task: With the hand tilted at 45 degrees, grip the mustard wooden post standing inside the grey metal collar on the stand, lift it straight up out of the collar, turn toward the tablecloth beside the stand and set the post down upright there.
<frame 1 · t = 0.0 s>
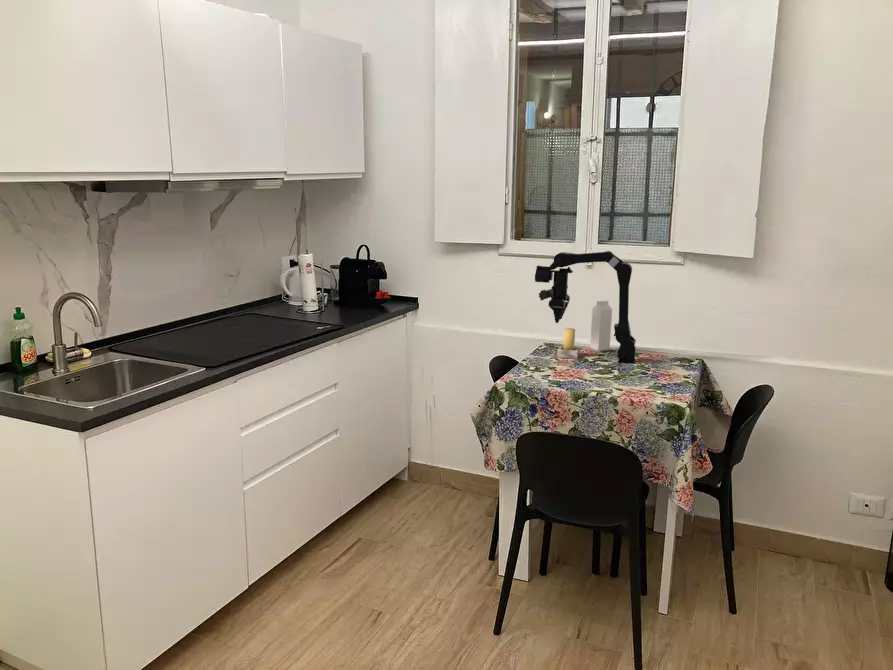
hand: (558, 320, 294), 15 cm above the table, tool pointing down, fingers open, 9 cm apart
milk: (599, 352, 305), on the table
post: (568, 355, 290), point 1 cm above the table, touching stand
stand: (568, 359, 290), on the table
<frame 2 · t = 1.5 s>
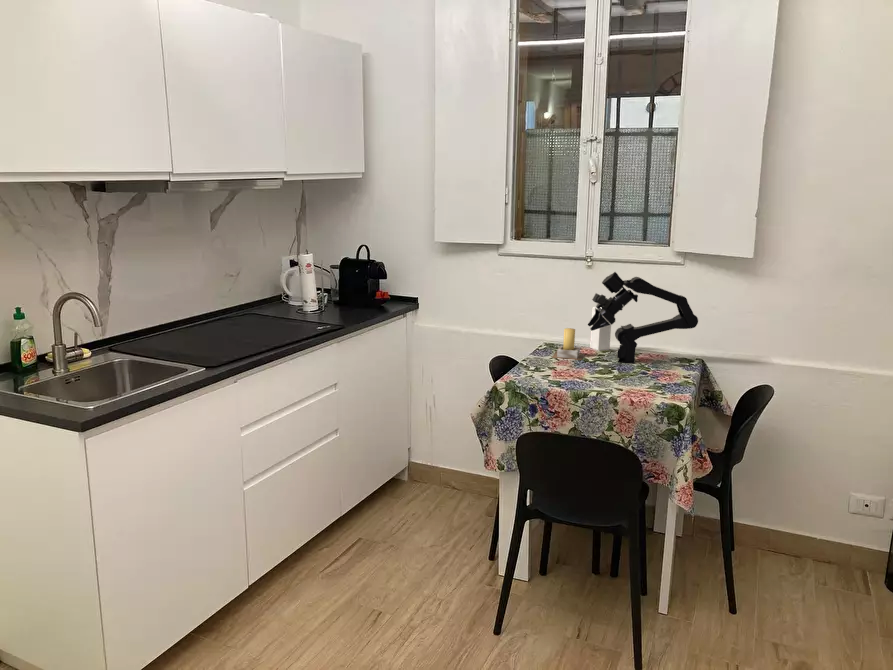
hand: (589, 327, 287), 13 cm above the table, tool tilted 45°, fingers open, 9 cm apart
nothing on the table moved.
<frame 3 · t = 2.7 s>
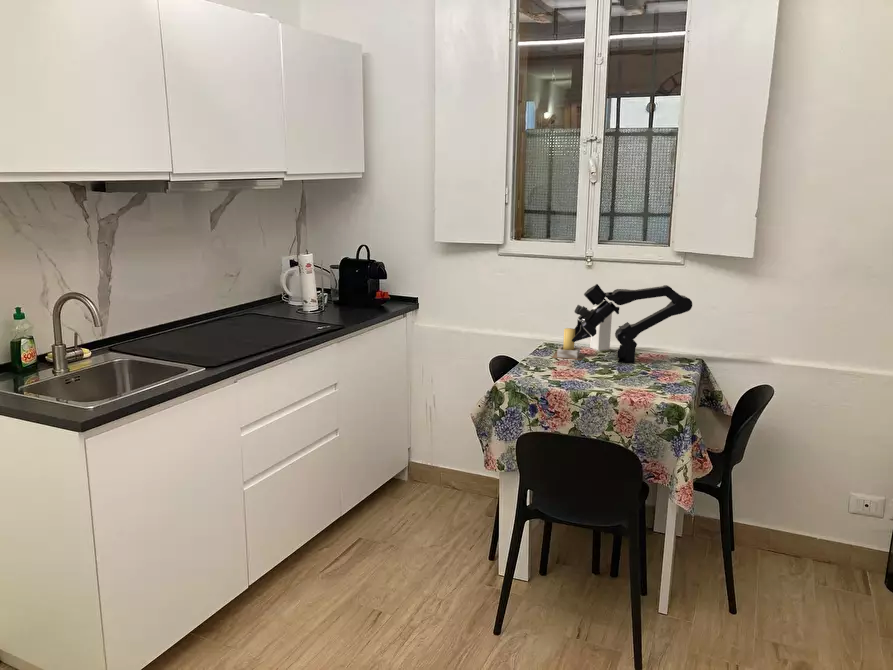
hand: (571, 338, 289), 9 cm above the table, tool tilted 45°, fingers open, 9 cm apart
nothing on the table moved.
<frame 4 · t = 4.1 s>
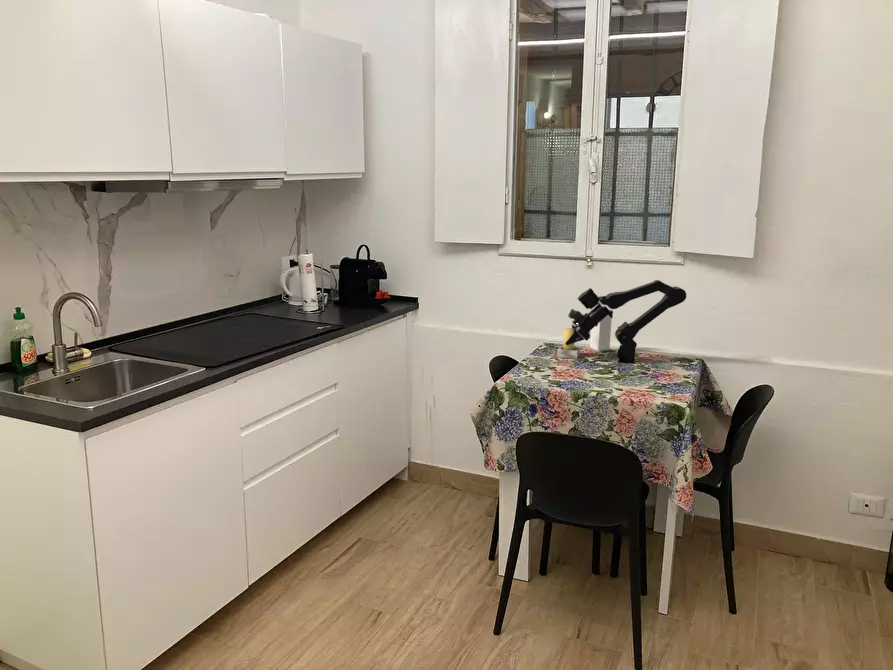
hand: (565, 343, 289), 7 cm above the table, tool tilted 45°, fingers closed on post, 4 cm apart
post: (568, 355, 290), point 1 cm above the table, touching gripper, stand
everything else where it was.
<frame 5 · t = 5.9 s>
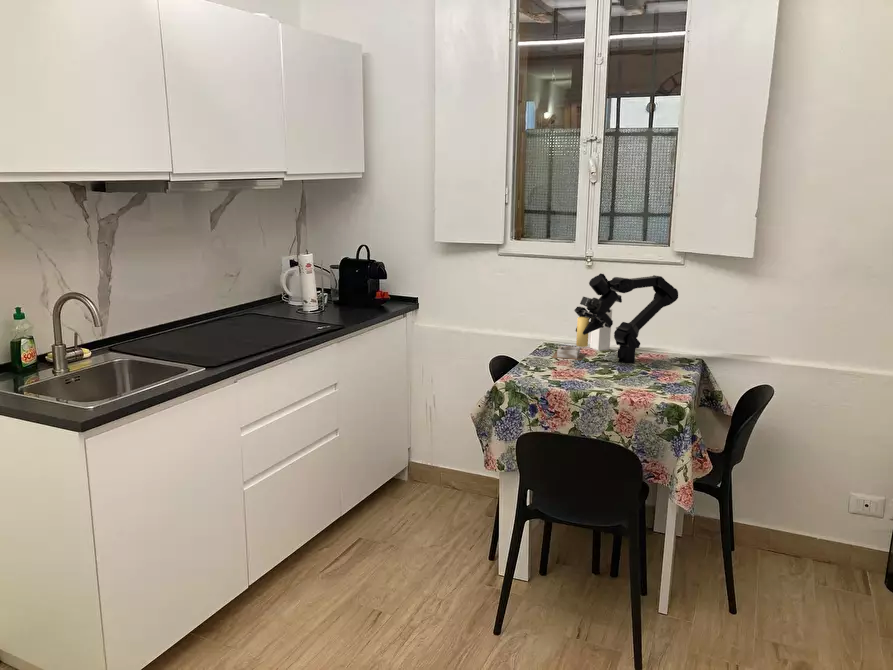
hand: (579, 332, 276), 13 cm above the table, tool tilted 45°, fingers closed on post, 4 cm apart
post: (581, 345, 278), point 8 cm above the table, touching gripper
everything else where it was.
when the fingers open (7 cm above the table, at t = 7.8 s): post drops 1 cm, on the table.
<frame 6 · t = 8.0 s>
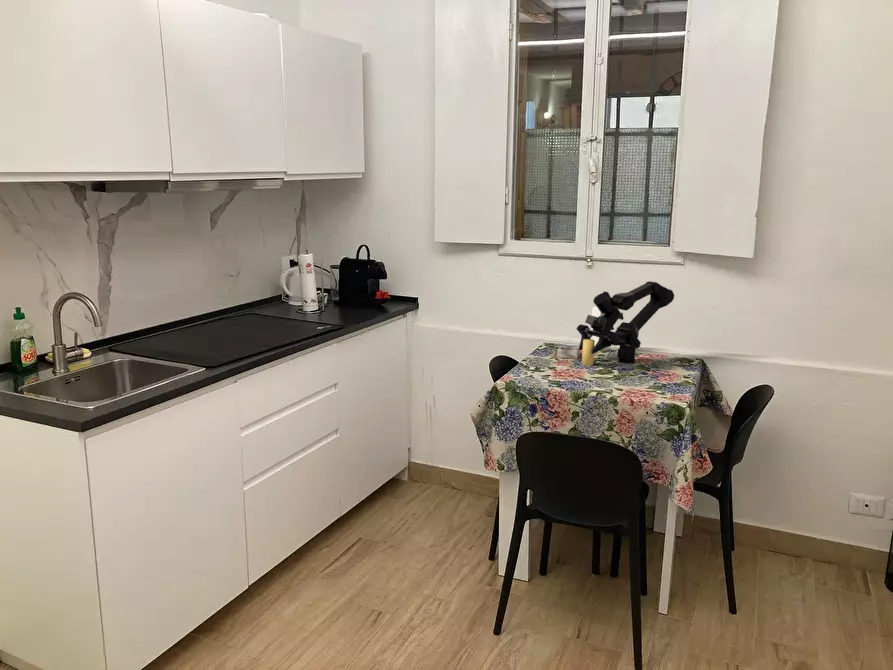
hand: (585, 351, 274), 7 cm above the table, tool tilted 45°, fingers open, 7 cm apart
post: (587, 367, 277), on the table
everything else where it was.
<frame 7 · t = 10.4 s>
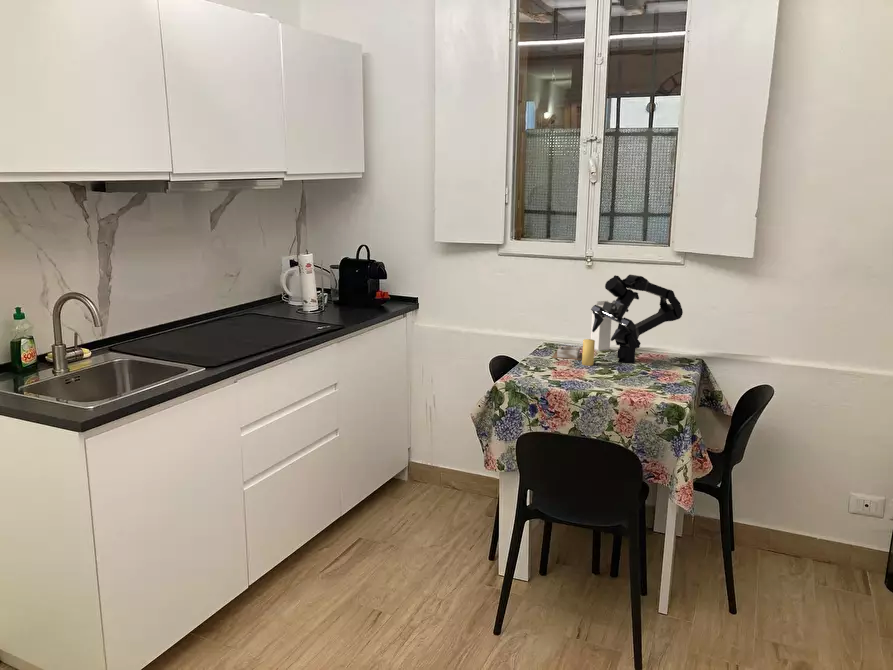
hand: (601, 336, 281), 11 cm above the table, tool tilted 35°, fingers open, 9 cm apart
nothing on the table moved.
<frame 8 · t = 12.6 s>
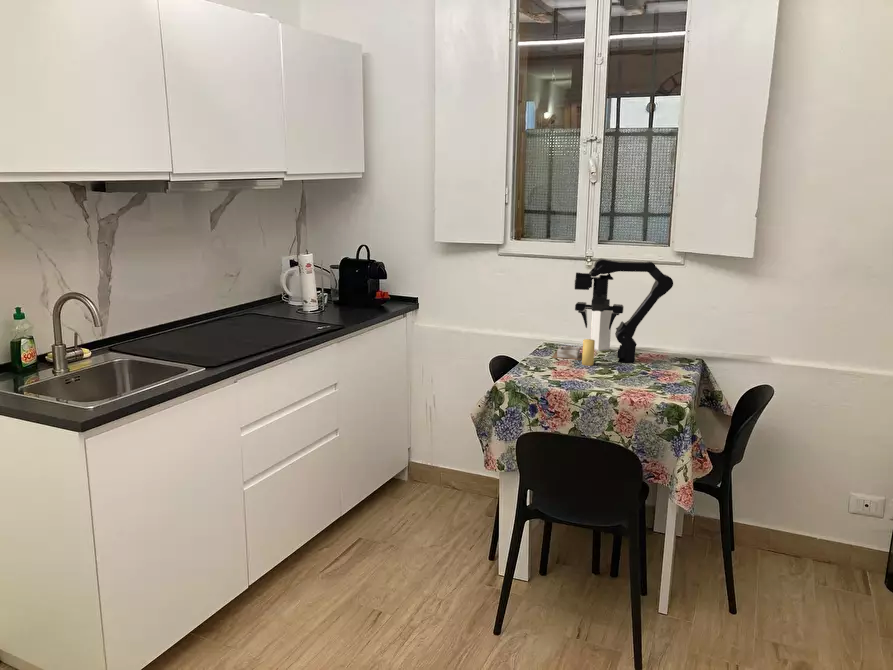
hand: (597, 328, 288), 13 cm above the table, tool pointing down, fingers open, 9 cm apart
nothing on the table moved.
at the end: post inside the target area (0.0 cm from its centre), on the table; post tilted 0°; the gripper is holding nothing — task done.
